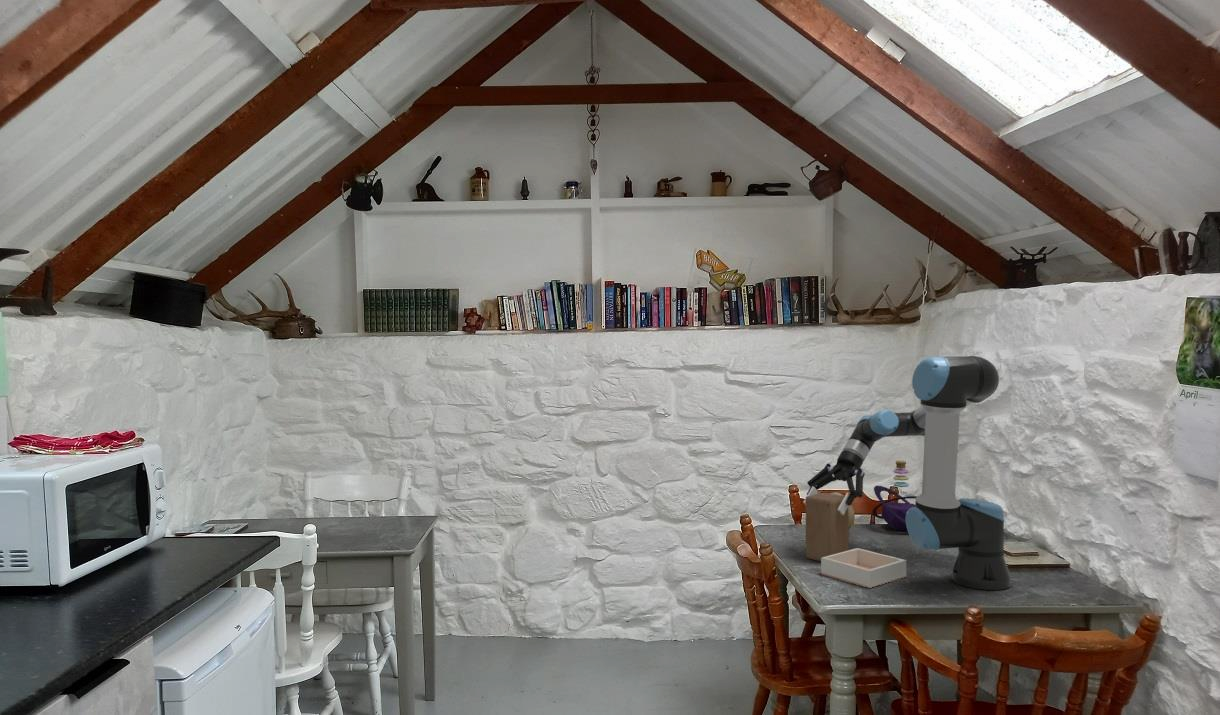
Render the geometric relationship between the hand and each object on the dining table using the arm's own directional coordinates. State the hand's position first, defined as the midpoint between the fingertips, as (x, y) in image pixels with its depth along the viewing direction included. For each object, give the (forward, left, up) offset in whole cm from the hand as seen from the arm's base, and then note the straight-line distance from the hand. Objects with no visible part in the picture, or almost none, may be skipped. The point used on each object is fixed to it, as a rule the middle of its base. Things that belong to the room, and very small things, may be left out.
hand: (822, 508), depth 243 cm
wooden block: (0, -2, -16) cm, 16 cm away
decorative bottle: (+8, -53, -16) cm, 56 cm away
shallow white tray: (-18, +4, -16) cm, 25 cm away
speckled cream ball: (+18, -29, -16) cm, 37 cm away
